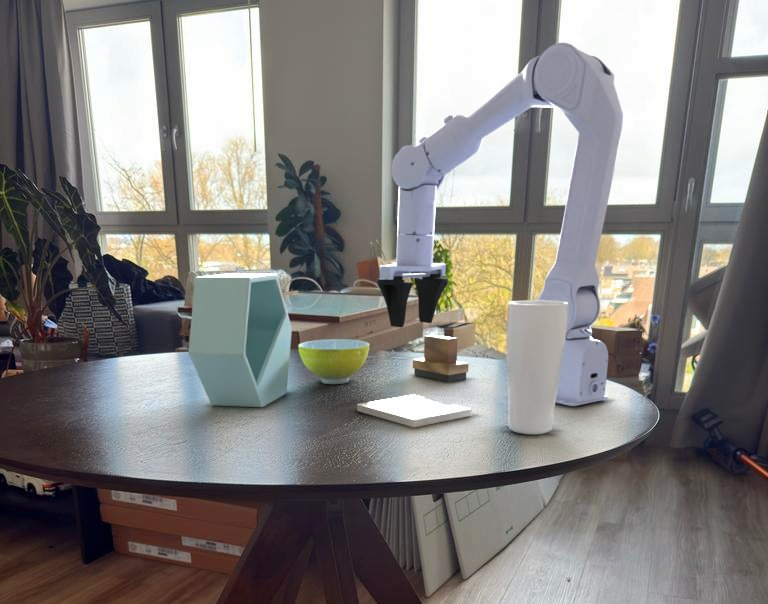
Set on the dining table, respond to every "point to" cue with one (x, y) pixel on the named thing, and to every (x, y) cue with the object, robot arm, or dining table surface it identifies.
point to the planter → (240, 338)
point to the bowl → (334, 358)
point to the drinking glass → (534, 362)
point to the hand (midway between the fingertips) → (411, 324)
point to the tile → (414, 410)
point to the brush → (440, 360)
